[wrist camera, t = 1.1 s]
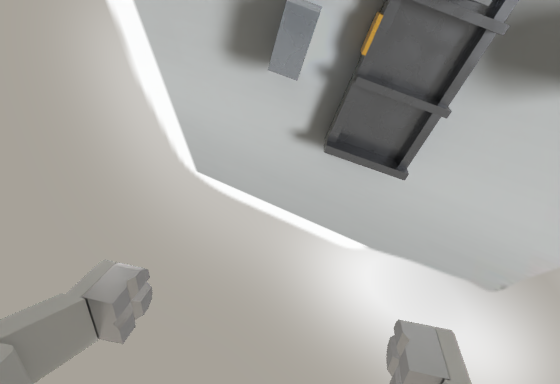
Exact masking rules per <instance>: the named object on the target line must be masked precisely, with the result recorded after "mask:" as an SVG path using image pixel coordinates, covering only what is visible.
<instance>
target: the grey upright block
mask: <svg viewBox="0 0 560 384" xmlns="http://www.w3.org/2000/svg"><path fill="white" fill-rule="evenodd" d="M321 9H322V7H321V6H319V5H316V4H314V3H311V2H308V1H306V0H287V1H286V5H285V8H284V12H283V16H282V19H281V23H280V27H279V30H278V34H277V38H276V41H275V45H274V49H273V52H272V56H271V60H270V63H269V67H268V70H269V71H272V72H275V73H278V74H281V75H283V76H286V77H289V78H292V79H294V80H297V79H298V77H299V74H300V71H301V68H302V65H303V62H304V59H305V56H306V53H307V50H308V47H309V44H310V41H311V38H312V35H313V32H314V29H315V26H316V23H317V20H318V17H319V14H320V11H321Z"/></svg>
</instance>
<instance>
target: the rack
mask: <svg viewBox="0 0 560 384" xmlns="http://www.w3.org/2000/svg"><path fill="white" fill-rule="evenodd" d="M518 1H519V0H386V1H385V3H384V6H383V8H382V10H381V12H378V11H377V13H376V15H375V17H374V20H373V22H372V24H371V27H370V29H369V31H368V34H367V36H366V38H365V40H364V43H363V45H362V47H361V54H362V56H361V58H360V60H359V62H358V65H357V67H356V69H355V71H354V74H353V76H352V78H351V81H350V83H349V85H348V87H347V90H346V92H345V94H344V96H343V99H342V101H341V103H340V105H339V108H338V110H337V112H336V115H335V117H334V119H333V121H332V124H331V126H330V128H329V130H328V133H327V135H326V137H325V144H324V152H325V153H328V154H331V155H334V156H336V157H339V158H342V159H345V160H348V161H351V162H354V163H356V164H359V165H362V166H365V167H368V168H371V169H373V170H376V171H379V172H382V173H385V174H388V175H391V176H393V177H396V178H399V179H402V180H405V179H406V177H407V176H408V171H407V167H408V166H409V164H410V163H411V161H412V160H413V158H414V157H415V155H416V154H417V152H418V151H419V149H420V148H421V146H422V145H423V143H424V142H425V140H426V139H427V137H428V136H429V134H430V133H431V131H432V130H433V128H434V127H435V125H436V124H437V122H438V121H439V119H440V118H441V117H444V118H447V117H448V116H449V114H450V113H451V110H450V109H449V107H448V106H449V104H450V103H451V101H452V100H453V98H454V97H455V95H456V94H457V92H458V91H459V89H460V88H461V86H462V85H463V83H464V82H465V80H466V79H467V77H468V76H469V74H470V73H471V71H472V70H473V68H474V67H475V65H476V64H477V62H478V61H479V59H480V58H481V56H482V55H483V53H484V52H485V50H486V49H487V47H488V46H489V44H490V43H491V41H492V40H493V38H494V37H495V35H496V34H497V33H498V34H501V35H504V34H505V32H506V31H507V29H508V28H509V26H510V25H507V24H505V23H504V22H505V20H506V19H507V17H508V16H509V14H510V13H511V11H512V10H513V8H514V7H515V5H516V4H517V3H518Z"/></svg>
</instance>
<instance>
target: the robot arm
mask: <svg viewBox="0 0 560 384" xmlns="http://www.w3.org/2000/svg"><path fill="white" fill-rule="evenodd" d="M149 278H150V276H149V271H148V270H147V269H145V268H140V267H136V266H132V265H127V264H123V263H119V262H113V261H109V260H103V261H101V262H99V263H98V264H97V265H96V266H95V267H94V268H93V269H92V270H91V271H90V272H89V273H88V274H87V275H86V276H84V277H83V278H82V279H81V280H80V281H79V282H78V283H77V284H76V285H75V286H74V287H73V288H72V289H71V290H70V291H69V292H68V293H66V294H59V295H57V296H54V297H52V298H50V299H48V300H45V301H43V302H40V303H38V304H36V305H33V306H31V307H28V308H26V309H24V310H21V311H19V312H17V313H15V314H12V315H10V316H7V317H5V318H3V319H0V384H34V383H35V382H37V381H38V380H40V379H41V378H42V377H44V376H45V375H47V374H49V373H50V372H52V371H53V370H55V369H56V368H57V367H59V366H61V365H62V364H63V363H65V362H67V361H68V360H69V359H71V358H73V357H74V356H76V355H77V354H79V353H80V352H82V351H83V350H85V349H86V348H88V347H89V346H91V345H92V344H94V343H95V342H96V341H98V339H102V340H106V341H111V342H116V343H121V344H123V343H124V342H125V340H126V339H127V337H128V336H129V335H130V333H131V332H132V331H133V329H134V328H135V319H137V318H139V317H141V316H143V315H144V313H145V312H146V311H147V309H148V307H149V305H150V302H151V300H152V287H151V286H150V285H149V284H148V283H147V280H148V279H149ZM394 333H395V335H394V336H392V337H390V340H389V343H388V347H387V370H388V371H389V373H390V374H391V376H392V379H391V381H390V384H471V381H470V378H469V375H468V372H467V369H466V366H465V364H464V360H463V358H462V355H461V352H460V349H459V346H458V343H457V340H456V337H455V334H454V333H453V332H452V330H447V329H443V328H438V327H432V326H428V325H423V324H418V323H412V322H407V321H402V320H398V321H397V322H396V324H395V326H394Z"/></svg>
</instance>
